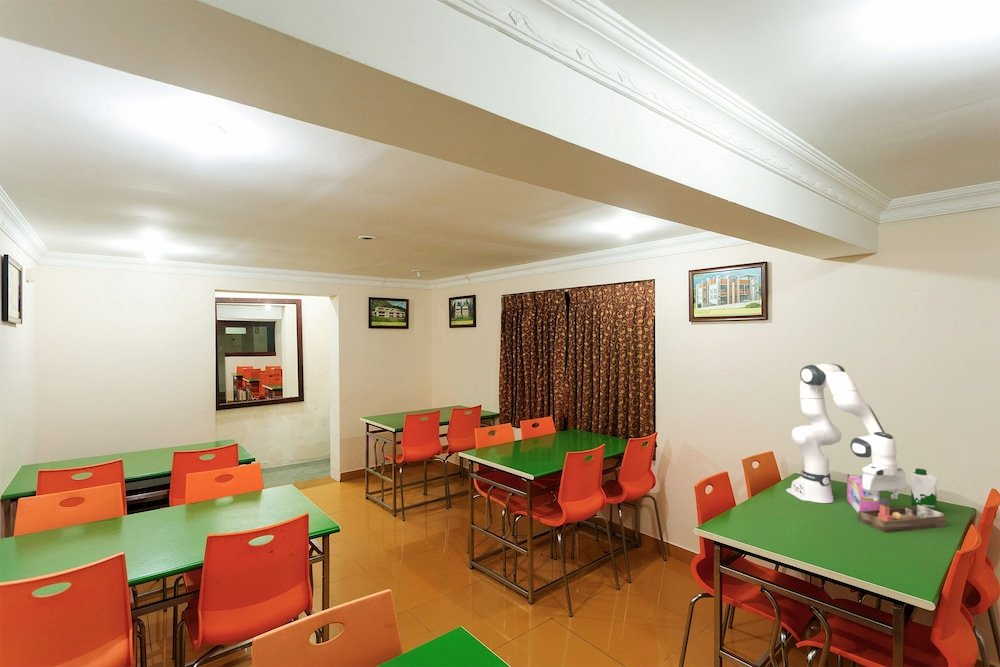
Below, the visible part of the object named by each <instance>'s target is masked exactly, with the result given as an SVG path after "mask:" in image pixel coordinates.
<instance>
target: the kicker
mask: <svg viewBox="0 0 1000 667" xmlns="http://www.w3.org/2000/svg"><path fill="white" fill-rule="evenodd" d="M879 504H880V513H878V519H880V520H883V521H891V516H890V509H891V508H890V507H891V500H890V499H888V498H885V497H880V500H879Z"/></svg>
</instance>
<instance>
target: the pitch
mask: <svg viewBox="0 0 1000 667" xmlns="http://www.w3.org/2000/svg"><path fill="white" fill-rule="evenodd" d="M893 512H898V513H900V514H901V515H902V518H901V519H900V520H895V519H894V518H893V517H892V513H893ZM878 513H880V510H869V511H858V512H857V514H858V518H857V519H858V522H860V523H862V524H864V525H866V524H867V525H866V526H869V527H871V528H874V529H876V530H878V531H881V532H883V533H895V532H905V531H913V530H914V531H916V530H917V531H918V530H925V529H937V528H946V527H947V516H945V514H944V513H943V512H940V511H938V510H937V511H935V510H932V509H929V508H926V507H923V506H920V505H917V506H914V507H911V506H904V507H903V506H902V507H894V508H893V507H891V508H890V516H891V521H883V520H880V519H878Z"/></svg>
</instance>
